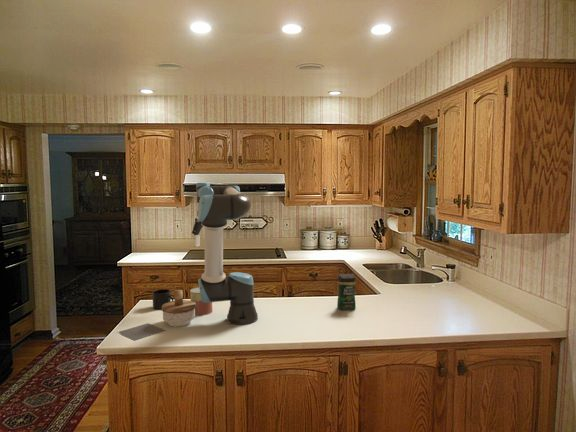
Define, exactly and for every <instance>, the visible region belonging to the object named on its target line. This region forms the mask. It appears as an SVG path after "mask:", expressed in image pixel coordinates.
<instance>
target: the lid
mask: <svg viewBox="0 0 576 432" xmlns="http://www.w3.org/2000/svg"><path fill="white" fill-rule="evenodd" d="M173 296H174V297H173V301H172V300H171V302H168V303H165V304H163V305H162V310H161V311H162V313H163V312H167V313H182V312H187V311H191V310H193V309H194V308H195V307H196V303H195V302H194V301H191V300H187V299H184V297H183V296H184V293H183V289H176V290H173Z"/></svg>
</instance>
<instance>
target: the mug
mask: <svg viewBox="0 0 576 432" xmlns="http://www.w3.org/2000/svg"><path fill="white" fill-rule="evenodd" d="M151 294H152V295H151V296H152V309H154V310H156V311H162V305H163V304H165V303H168V302H171V301H174V297H173V296H172V295H171V290H170V289H166V288H164V289H157V290H154V291H152V293H151Z"/></svg>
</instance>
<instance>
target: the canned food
mask: <svg viewBox="0 0 576 432" xmlns="http://www.w3.org/2000/svg"><path fill="white" fill-rule="evenodd" d="M189 292H190V301H194V302H195V303H196V307H195V316H206V315H210V314H212V313H213V302H212V303H210V302H208V303H204V302H202V300H201V295H200V289H199V287H194V288H191V289H190V290H189Z"/></svg>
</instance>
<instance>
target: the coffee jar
mask: <svg viewBox="0 0 576 432" xmlns="http://www.w3.org/2000/svg"><path fill="white" fill-rule="evenodd" d="M356 283H357V281H356V276H355V274H353V273H343V274H342V273H341V274H338V276H337V284H338V293H337V294H338V295H337V304H336V307H337V308H338V310H342V311H349V310H350V311H351V310H352V311H353V310H355V309H356V308H357V307H356V294H355V285H356Z"/></svg>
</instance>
